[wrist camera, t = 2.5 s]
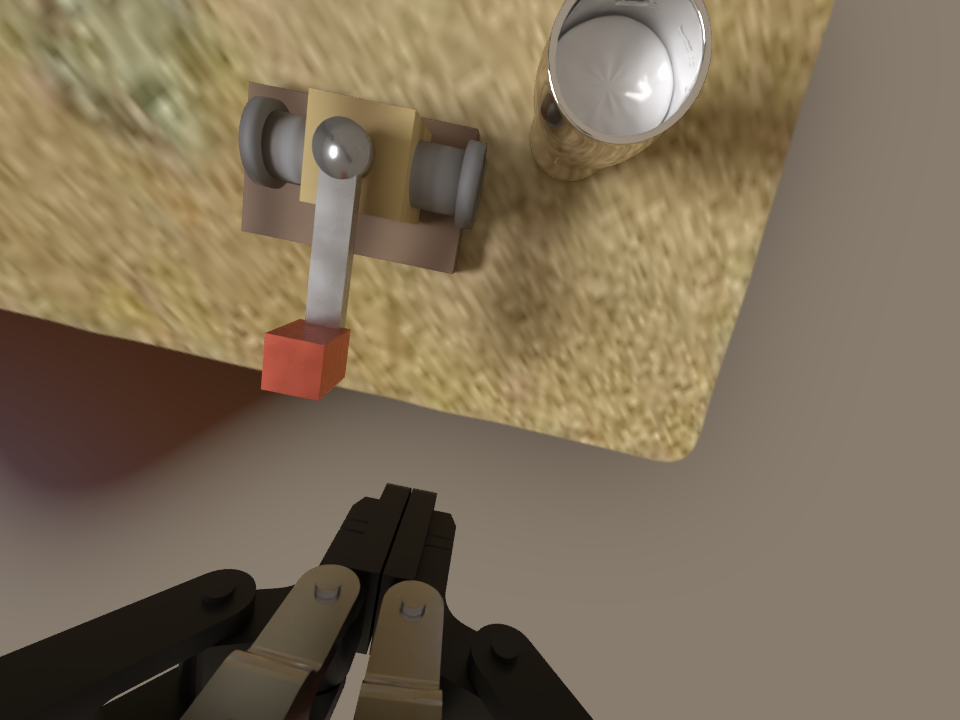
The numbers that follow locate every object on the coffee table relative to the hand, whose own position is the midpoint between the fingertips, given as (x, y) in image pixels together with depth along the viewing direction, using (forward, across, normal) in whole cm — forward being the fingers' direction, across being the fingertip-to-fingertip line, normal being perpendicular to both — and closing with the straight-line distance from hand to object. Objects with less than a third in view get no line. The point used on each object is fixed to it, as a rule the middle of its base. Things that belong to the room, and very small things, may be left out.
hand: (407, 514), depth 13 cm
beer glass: (+25, -5, -16) cm, 30 cm away
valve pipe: (+24, +10, -10) cm, 28 cm away
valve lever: (+15, +8, -5) cm, 17 cm away
